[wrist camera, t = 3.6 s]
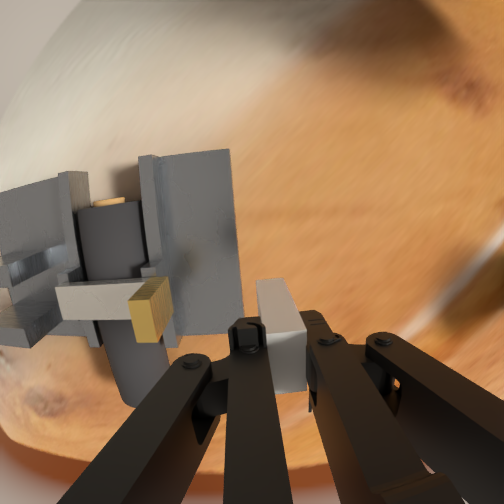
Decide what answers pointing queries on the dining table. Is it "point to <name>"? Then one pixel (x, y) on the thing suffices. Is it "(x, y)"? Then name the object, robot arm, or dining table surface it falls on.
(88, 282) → the white and yellow slider
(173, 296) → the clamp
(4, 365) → the dining table surface
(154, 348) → the dark grey cylinder
